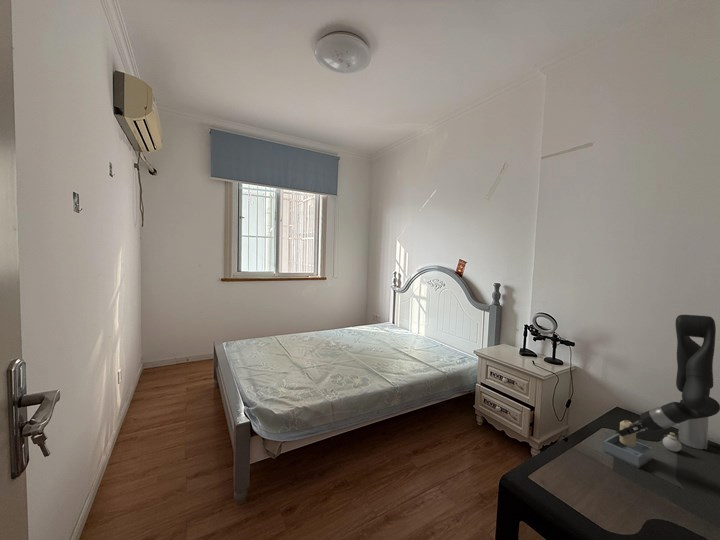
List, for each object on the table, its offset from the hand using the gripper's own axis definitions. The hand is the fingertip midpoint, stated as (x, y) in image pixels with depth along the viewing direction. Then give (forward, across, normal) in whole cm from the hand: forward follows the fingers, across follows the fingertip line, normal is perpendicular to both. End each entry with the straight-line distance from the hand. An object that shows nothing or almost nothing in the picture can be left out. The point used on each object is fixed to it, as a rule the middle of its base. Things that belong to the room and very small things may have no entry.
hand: (622, 432), depth 134 cm
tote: (+6, 0, +8) cm, 10 cm away
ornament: (0, -24, +14) cm, 28 cm away
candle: (+2, 0, +4) cm, 5 cm away
